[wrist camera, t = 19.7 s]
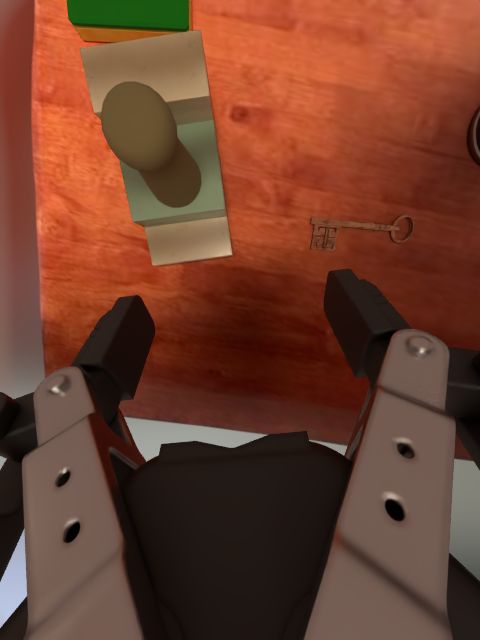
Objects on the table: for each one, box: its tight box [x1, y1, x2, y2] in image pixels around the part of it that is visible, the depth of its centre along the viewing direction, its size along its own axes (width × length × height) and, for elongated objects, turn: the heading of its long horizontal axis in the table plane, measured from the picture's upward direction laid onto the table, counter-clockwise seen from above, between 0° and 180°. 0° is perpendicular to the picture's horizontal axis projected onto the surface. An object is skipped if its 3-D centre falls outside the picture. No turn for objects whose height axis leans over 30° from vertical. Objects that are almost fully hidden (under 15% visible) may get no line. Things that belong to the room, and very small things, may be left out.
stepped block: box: [80, 30, 233, 266], centre depth 28 cm, size 19×11×10 cm, turn 8°
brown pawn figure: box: [101, 81, 202, 208], centre depth 21 cm, size 6×6×11 cm
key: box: [310, 215, 414, 251], centre depth 34 cm, size 6×1×15 cm
